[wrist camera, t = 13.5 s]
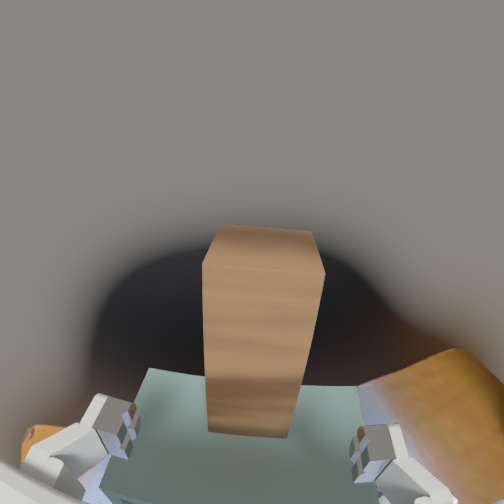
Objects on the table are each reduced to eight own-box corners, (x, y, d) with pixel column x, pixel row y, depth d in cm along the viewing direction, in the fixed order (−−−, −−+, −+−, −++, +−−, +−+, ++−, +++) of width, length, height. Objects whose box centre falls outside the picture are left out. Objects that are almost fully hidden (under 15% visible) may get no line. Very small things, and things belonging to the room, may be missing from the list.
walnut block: (286, 438, 18) (325, 273, 13) (208, 431, 18) (202, 263, 13) (285, 384, 22) (311, 231, 17) (218, 378, 22) (220, 223, 17)
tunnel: (317, 558, 18) (381, 513, 12) (151, 542, 19) (98, 487, 12) (314, 474, 28) (356, 386, 22) (172, 461, 29) (149, 367, 22)
